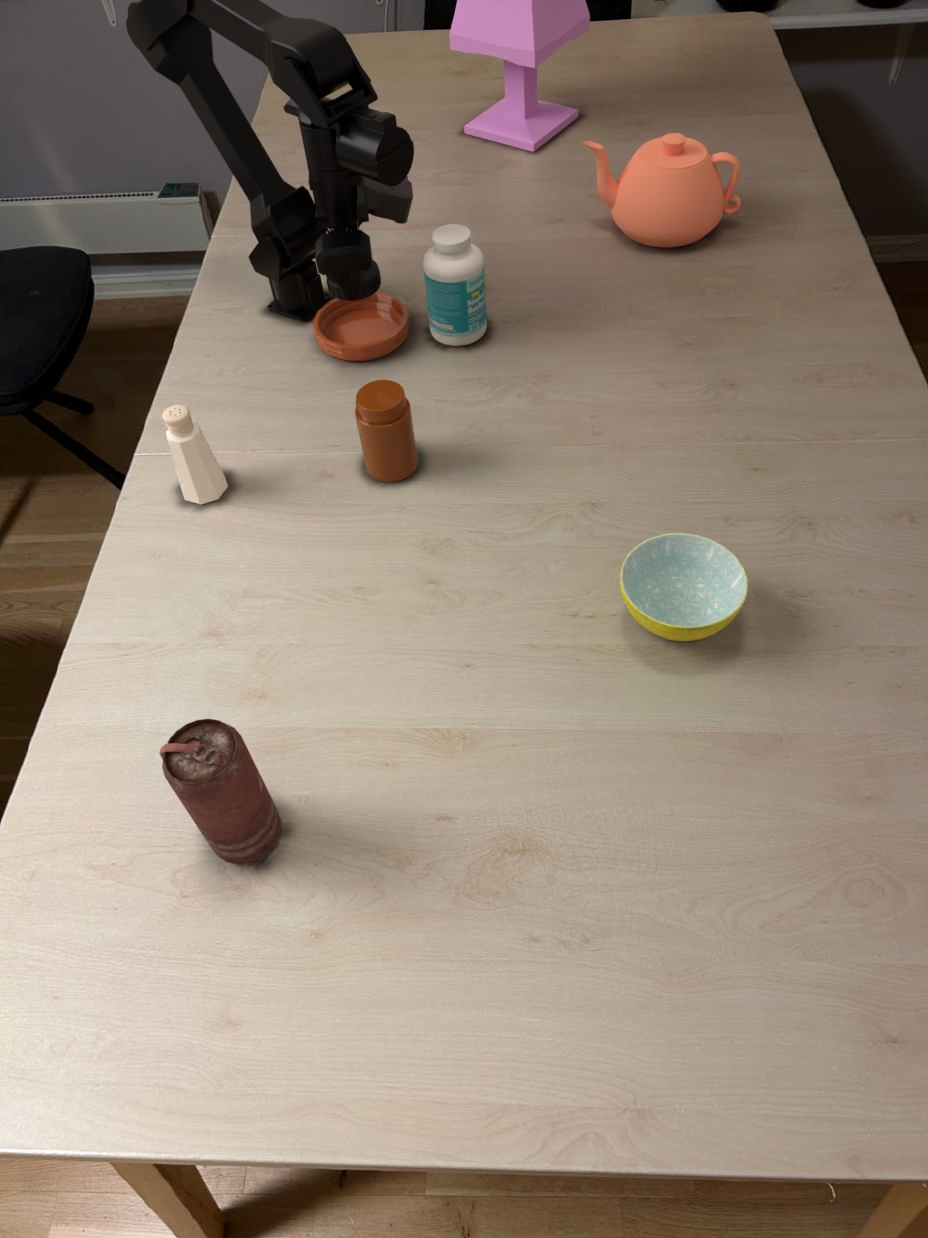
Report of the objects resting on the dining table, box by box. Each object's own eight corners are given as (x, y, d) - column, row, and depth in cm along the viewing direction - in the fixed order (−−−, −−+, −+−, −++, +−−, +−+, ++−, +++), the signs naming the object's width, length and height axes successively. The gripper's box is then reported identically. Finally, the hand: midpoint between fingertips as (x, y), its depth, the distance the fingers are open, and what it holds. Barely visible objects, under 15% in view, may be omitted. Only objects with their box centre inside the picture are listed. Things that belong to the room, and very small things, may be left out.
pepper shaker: (210, 465, 108) (182, 388, 100) (238, 487, 106) (211, 410, 97) (171, 489, 106) (139, 413, 97) (198, 512, 104) (167, 436, 95)
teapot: (578, 255, 130) (580, 166, 120) (582, 197, 140) (585, 111, 130) (740, 255, 127) (756, 165, 118) (733, 197, 137) (748, 108, 127)
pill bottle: (481, 350, 118) (475, 252, 108) (424, 346, 120) (413, 249, 109) (492, 316, 123) (487, 218, 112) (437, 312, 124) (427, 215, 113)
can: (211, 804, 81) (159, 719, 70) (283, 796, 81) (243, 710, 70) (205, 870, 77) (149, 791, 66) (281, 862, 77) (238, 781, 66)
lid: (382, 297, 114) (380, 282, 113) (328, 303, 114) (325, 288, 113) (380, 268, 119) (378, 252, 117) (328, 273, 118) (325, 258, 117)
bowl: (708, 686, 85) (718, 646, 80) (595, 637, 89) (598, 596, 84) (755, 601, 91) (767, 559, 86) (646, 559, 95) (652, 516, 90)
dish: (298, 348, 121) (294, 331, 119) (352, 299, 127) (349, 282, 125) (376, 373, 117) (373, 357, 115) (427, 321, 123) (425, 304, 121)
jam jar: (355, 472, 106) (340, 403, 98) (384, 440, 109) (372, 371, 101) (399, 488, 104) (388, 419, 96) (428, 455, 107) (419, 386, 99)
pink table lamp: (509, 96, 162) (502, -159, 135) (586, 115, 156) (595, -149, 128) (456, 134, 155) (437, -128, 127) (535, 155, 149) (533, -116, 121)
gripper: (408, 193, 98) (423, 321, 111) (399, 114, 110) (413, 237, 122) (303, 204, 98) (330, 331, 111) (305, 124, 110) (329, 247, 122)
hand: (354, 284), depth 116 cm, fingers closed on lid, 6 cm apart
